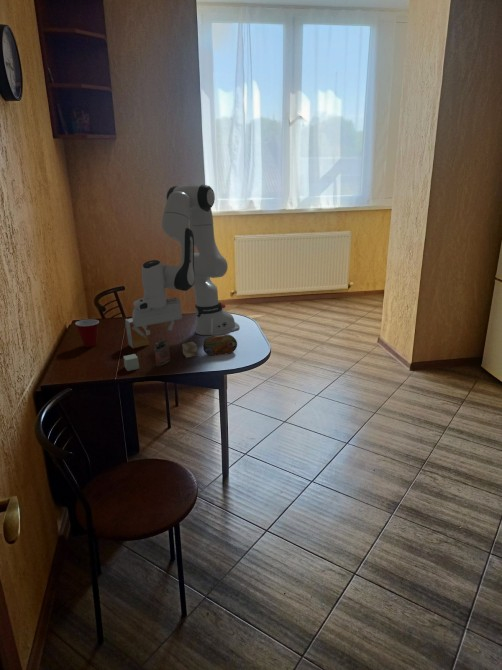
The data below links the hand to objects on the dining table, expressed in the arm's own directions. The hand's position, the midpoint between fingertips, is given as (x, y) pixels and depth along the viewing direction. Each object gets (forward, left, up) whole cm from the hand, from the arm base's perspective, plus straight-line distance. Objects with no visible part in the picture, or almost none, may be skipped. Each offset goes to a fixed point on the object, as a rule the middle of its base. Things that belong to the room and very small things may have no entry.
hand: (159, 332), depth 196 cm
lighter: (0, 0, -14) cm, 14 cm away
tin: (-25, +4, -14) cm, 29 cm away
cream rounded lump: (-13, -2, -14) cm, 19 cm away
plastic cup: (+24, -40, -14) cm, 49 cm away
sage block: (+13, -2, -14) cm, 19 cm away
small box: (+4, -27, -14) cm, 31 cm away
